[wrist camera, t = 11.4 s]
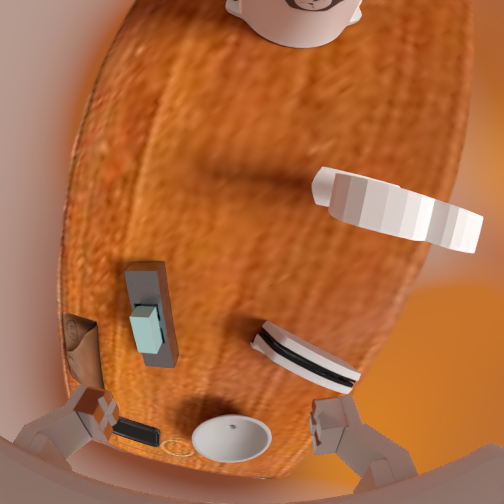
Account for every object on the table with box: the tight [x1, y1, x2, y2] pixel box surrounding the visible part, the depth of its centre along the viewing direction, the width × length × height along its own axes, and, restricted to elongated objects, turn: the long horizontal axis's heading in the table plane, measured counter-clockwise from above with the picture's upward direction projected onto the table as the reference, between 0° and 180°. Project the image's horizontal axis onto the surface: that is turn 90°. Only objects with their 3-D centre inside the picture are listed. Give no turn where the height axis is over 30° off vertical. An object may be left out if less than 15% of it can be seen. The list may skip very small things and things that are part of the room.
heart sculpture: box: [312, 167, 483, 253], centre depth 27 cm, size 16×5×18 cm, turn 81°
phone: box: [112, 416, 160, 447], centre depth 51 cm, size 8×1×15 cm
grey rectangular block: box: [124, 262, 179, 368], centre depth 39 cm, size 16×5×4 cm, turn 1°
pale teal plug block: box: [129, 304, 163, 354], centre depth 38 cm, size 6×3×6 cm, turn 1°
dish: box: [192, 414, 272, 462], centre depth 47 cm, size 18×14×5 cm
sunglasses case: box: [63, 312, 105, 389], centre depth 43 cm, size 18×7×7 cm, turn 168°
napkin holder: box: [250, 320, 361, 394], centre depth 39 cm, size 17×5×10 cm, turn 57°
